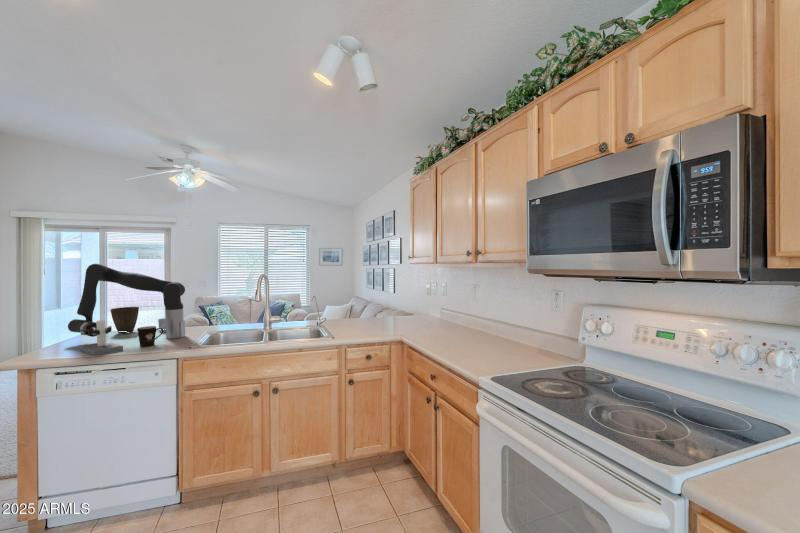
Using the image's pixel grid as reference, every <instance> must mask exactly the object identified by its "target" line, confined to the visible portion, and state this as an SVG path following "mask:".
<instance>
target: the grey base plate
mask: <svg viewBox="0 0 800 533" xmlns="http://www.w3.org/2000/svg"><path fill="white" fill-rule="evenodd" d="M79 350H80V351H81V352H84V353H85V352H86V353H85V354H88V353H89V354H88V355H91V356H94V357H95V356H102V355H107V354H112V352H113V353H118V352H123V351H124V345H122V344H119V343H114V342H112V341H109V340H108V341H106V345H104V346H97V342H96V343H89V344H84V345H83V344H82V345H80V346H79ZM117 351H118V352H117ZM106 353H107V354H106ZM101 354H102V355H101Z"/></svg>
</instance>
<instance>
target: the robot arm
mask: <svg viewBox="0 0 800 533" xmlns="http://www.w3.org/2000/svg"><path fill="white" fill-rule="evenodd" d="M99 282H108V283H114V284H117V285H118V284H119V285H121V286H123V287H126V288H130V289H134V290H138V291H145V292H158V293H162V296H163V298H162V299H163V304H164V308H165V318H166V332H165V339H180V338H181V339H182V338H184V337H185V336H186V322H185V321H186V320H185V319H184V304H183V303H182V299H181V297H182V296H183V295H184V294H185V292H186V288H185V286H184V285H183V283H181V282H176V281H169V280H162V279H160V278H156V277H153V276H148V275H146V274H142V273H138V272H131V271H121V270H117V269H113V268H111V267H108V266H106V265H103V264H100V263H92V264H90V265H88V267H87V268H86V269H85V274H84V284H83V290H82V295H81V298H80V302H79V305H78V308H77V312H76V313H77V315H79V316H81V317H84V318H85V319H78V318H77V319H76V318H75V319H74V318H73V319H72V320H70V321H69V322H68V325H67V329H68V331H69V332H72V333H80V335H81V336H87V337H88V336H89V337H93V338H94V337H97V335H100V330H97V324H96V321H93V320H94V319H93V318H94V317H93V316H94V315H93V314H94V311H95V308H96V305H97V304H96V303H97V287H98V284H99ZM112 331H113V330H112V325H109V326H107V327H105V333H106V335H108V334H109V333H111V332H112Z"/></svg>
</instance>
